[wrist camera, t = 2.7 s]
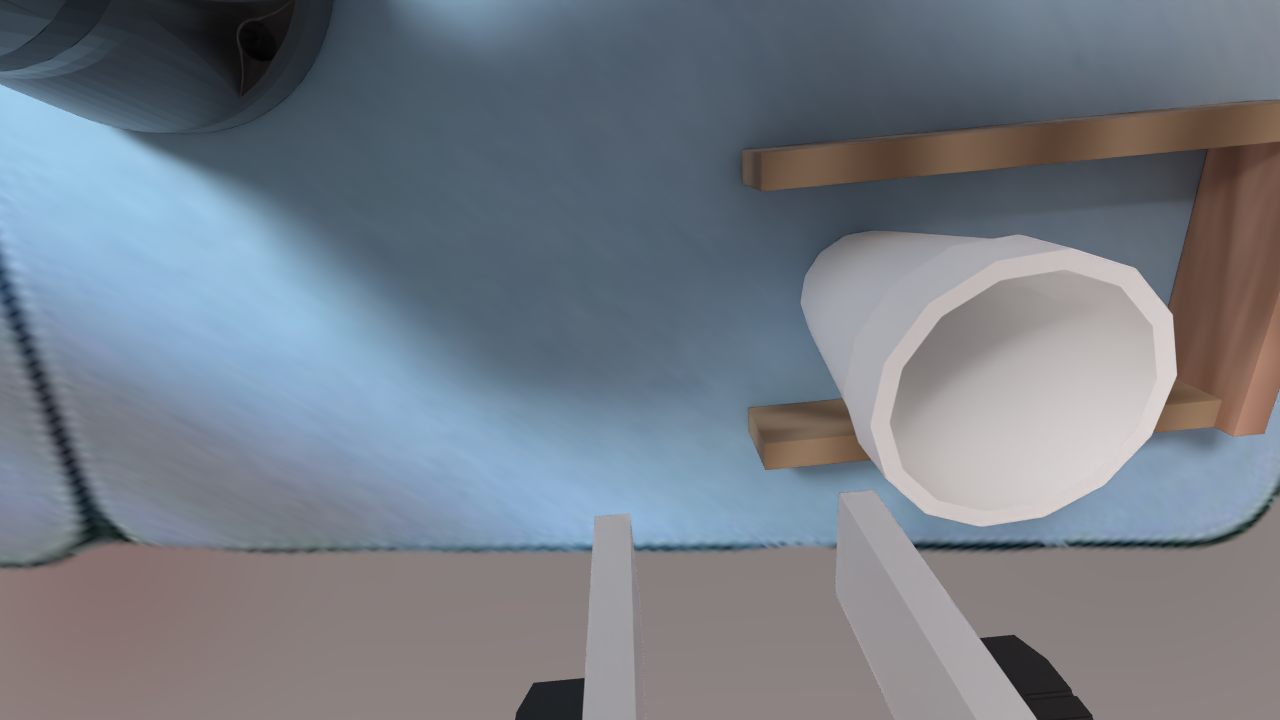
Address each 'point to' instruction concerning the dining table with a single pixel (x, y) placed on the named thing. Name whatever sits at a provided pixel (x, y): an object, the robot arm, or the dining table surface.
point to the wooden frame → (1206, 278)
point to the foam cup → (990, 366)
